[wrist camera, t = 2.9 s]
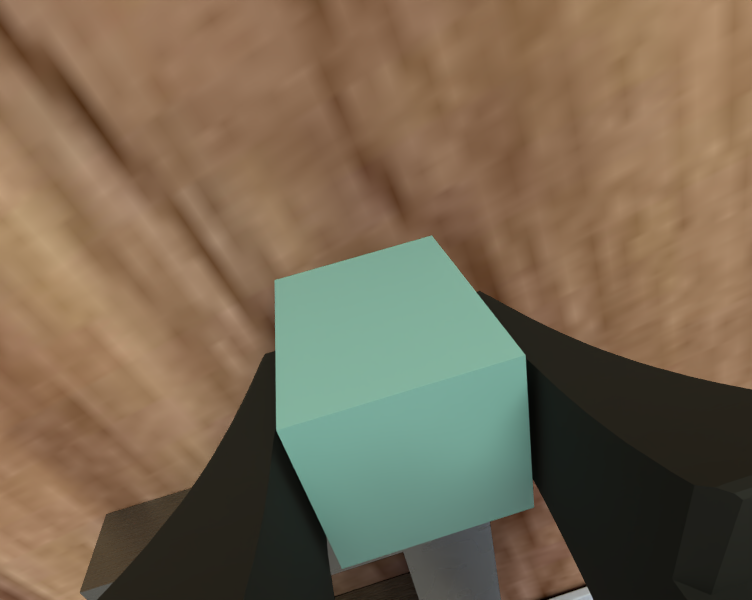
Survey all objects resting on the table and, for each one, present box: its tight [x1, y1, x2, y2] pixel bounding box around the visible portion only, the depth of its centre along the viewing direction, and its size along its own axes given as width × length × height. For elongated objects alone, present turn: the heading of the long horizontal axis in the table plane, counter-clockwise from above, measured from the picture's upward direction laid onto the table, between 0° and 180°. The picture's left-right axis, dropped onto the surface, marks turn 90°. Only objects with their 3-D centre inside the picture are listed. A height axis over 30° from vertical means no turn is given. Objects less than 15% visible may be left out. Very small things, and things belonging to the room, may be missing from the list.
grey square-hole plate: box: [80, 489, 501, 600], centre depth 18 cm, size 12×12×2 cm
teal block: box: [275, 236, 534, 569], centre depth 10 cm, size 4×4×5 cm
